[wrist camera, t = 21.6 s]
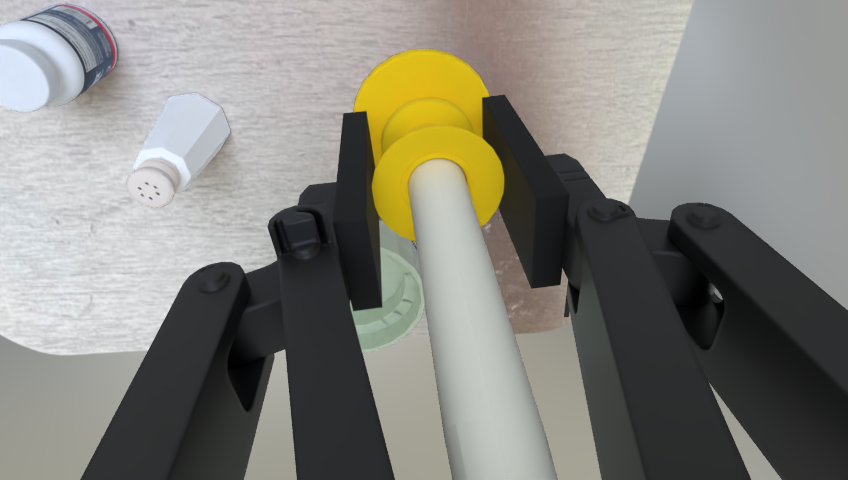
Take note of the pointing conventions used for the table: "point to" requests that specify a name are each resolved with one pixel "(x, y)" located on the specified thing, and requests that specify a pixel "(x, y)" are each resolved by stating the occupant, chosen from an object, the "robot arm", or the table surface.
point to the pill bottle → (53, 57)
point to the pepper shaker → (177, 149)
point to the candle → (454, 257)
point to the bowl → (392, 295)
